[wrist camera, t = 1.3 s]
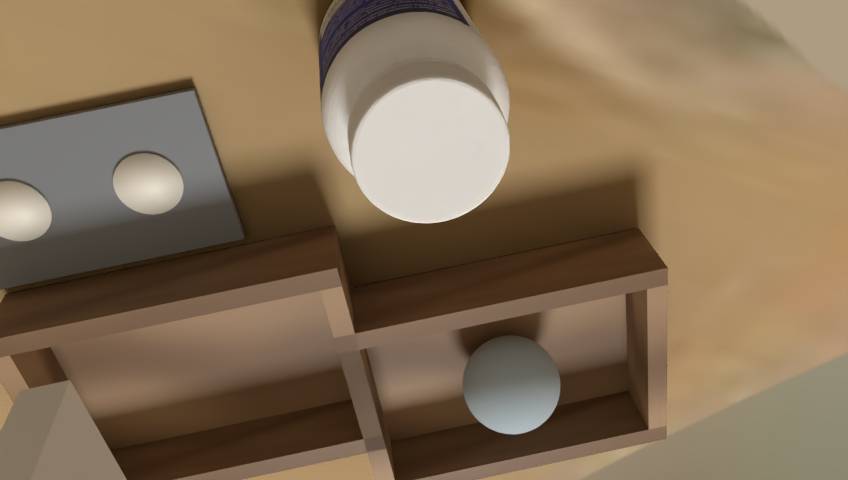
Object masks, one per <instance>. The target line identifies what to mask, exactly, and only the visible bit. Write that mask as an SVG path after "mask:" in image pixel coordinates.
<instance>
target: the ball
mask: <svg viewBox="0 0 848 480" xmlns="http://www.w3.org/2000/svg"><path fill="white" fill-rule="evenodd" d="M463 393H464V397H465V401H466V403H467V405H468V407H469V409H470V411H471V412H472V414H473V415H474V416H475V418H476V419H477V420H478V421H479V422H481V423H482V424H483V425H485V426H486V427H488V428H490V429H492V430H494V431H496V432H499V433H504V434H521V433H526V432H529V431H531V430H533V429H535V428H537V427H539V426H540V425H542V424H543V423H544V422H545V421H546V420H547V419H548V418H549V417H550V416H551V414H552V413H553V411H554V409H555V407H556V405H557V403H558V399H559V395H560V377H559V372H558V369H557V366H556V364H555V362H554V361H553V359H552V357H551V356H550V355H549V353H548V352H547V351H546V350H545V349H544V348H543V347H541V346H540V345H539V344H537V343H536V342H534V341H532V340H530V339H528V338H525V337H521V336H514V335H507V336H500V337H496V338H494V339H491V340H489V341H487V342H485V343H484V344H482V345H481V346H480V347H479V348H478V349H477V350H476V351H475V352H474V353H473V354H472V355H471V357H470V359H469V360H468V362H467V365H466V367H465V370H464V375H463Z"/></svg>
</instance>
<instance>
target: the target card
mask: <svg viewBox="0 0 848 480" xmlns="http://www.w3.org/2000/svg"><path fill="white" fill-rule="evenodd" d="M243 239H245V233H244V230H243V227H242V224H241V221H240V218H239V215H238V213H237V210H236V207H235V204H234V201H233V198H232V195H231V192H230V189H229V186H228V183H227V180H226V177H225V174H224V171H223V168H222V166H221V163H220V160H219V157H218V154H217V151H216V148H215V145H214V142H213V139H212V136H211V133H210V130H209V127H208V124H207V121H206V119H205V116H204V113H203V110H202V107H201V104H200V101H199V98H198V95H197V92H196V89H195V87H194V88H189V89H184V90H179V91H174V92H169V93H164V94H159V95H155V96H150V97H145V98H140V99H135V100H130V101H125V102H120V103H115V104H110V105H105V106H100V107H95V108H90V109H85V110H80V111H75V112H70V113H66V114H61V115H56V116H51V117H46V118H41V119H36V120H31V121H26V122H21V123H16V124H11V125H6V126H1V127H0V290H1V289H6V288H11V287H15V286H20V285H25V284H30V283H35V282H40V281H44V280H49V279H54V278H59V277H64V276H69V275H73V274H78V273H83V272H88V271H93V270H98V269H102V268H107V267H112V266H117V265H122V264H127V263H131V262H136V261H141V260H146V259H151V258H156V257H160V256H165V255H170V254H175V253H180V252H185V251H189V250H194V249H199V248H204V247H209V246H214V245H218V244H223V243H228V242H233V241H238V240H243Z"/></svg>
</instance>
